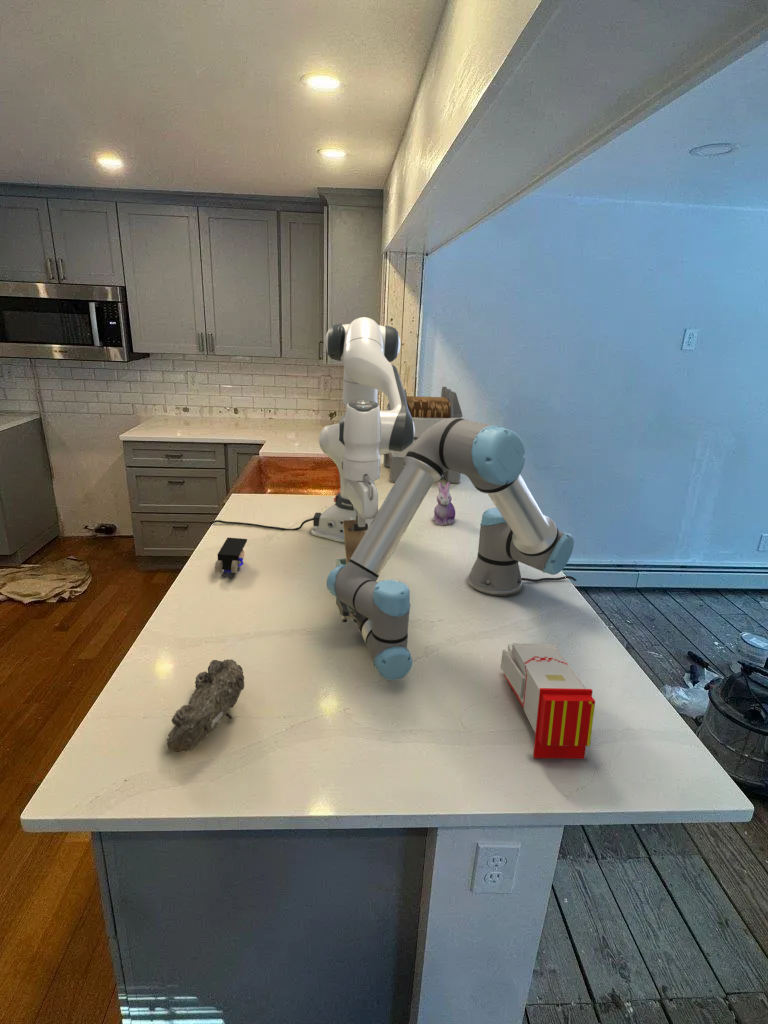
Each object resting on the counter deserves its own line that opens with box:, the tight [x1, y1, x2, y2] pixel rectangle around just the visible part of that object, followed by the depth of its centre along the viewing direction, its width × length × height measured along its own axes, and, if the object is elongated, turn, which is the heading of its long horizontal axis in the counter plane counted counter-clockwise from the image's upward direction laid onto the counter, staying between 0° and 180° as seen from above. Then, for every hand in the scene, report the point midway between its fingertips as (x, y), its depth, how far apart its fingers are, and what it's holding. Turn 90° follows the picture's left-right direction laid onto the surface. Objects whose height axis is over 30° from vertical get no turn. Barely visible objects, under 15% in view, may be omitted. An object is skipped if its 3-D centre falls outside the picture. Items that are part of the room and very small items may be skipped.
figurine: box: [433, 482, 456, 526], centre depth 211 cm, size 9×10×15 cm
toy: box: [499, 642, 596, 760], centre depth 113 cm, size 12×13×30 cm
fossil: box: [166, 658, 245, 754], centre depth 106 cm, size 22×10×15 cm
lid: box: [343, 520, 368, 565], centre depth 142 cm, size 15×5×8 cm
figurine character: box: [214, 537, 248, 578], centre depth 166 cm, size 7×8×15 cm
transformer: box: [383, 386, 463, 484], centre depth 268 cm, size 34×33×41 cm
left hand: (360, 524), depth 139 cm, fingers closed, pressing on lid
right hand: (354, 582), depth 150 cm, fingers closed on chest, 5 cm apart
